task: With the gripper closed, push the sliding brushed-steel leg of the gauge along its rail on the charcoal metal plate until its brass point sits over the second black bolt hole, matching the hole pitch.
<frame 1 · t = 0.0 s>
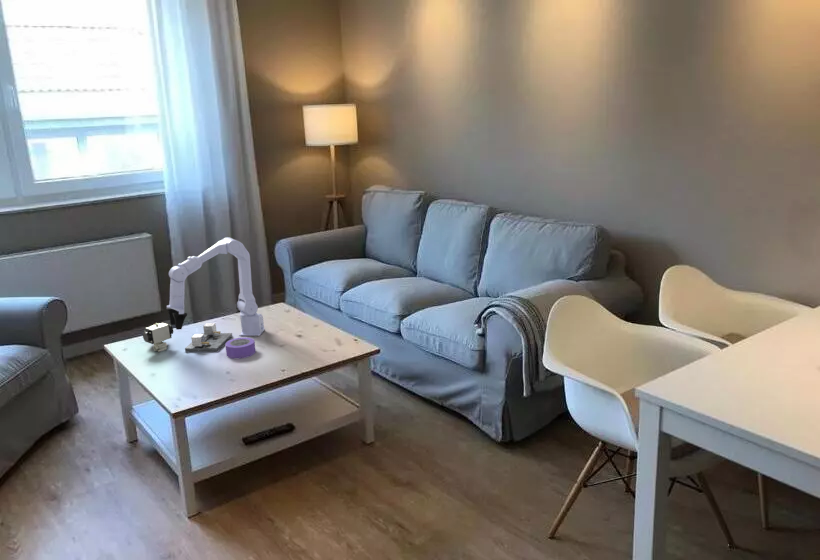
hand: (176, 326, 291), 11 cm above the table, tool pointing down, fingers open, 7 cm apart
decorative fruit: (158, 344, 302), on the table
sliding leg: (212, 329, 305), point 4 cm above the table, slide at 5.0 cm
pneumatic valve: (160, 350, 295), on the table
tape roll: (241, 353, 287), on the table
bolt plate: (209, 343, 300), on the table
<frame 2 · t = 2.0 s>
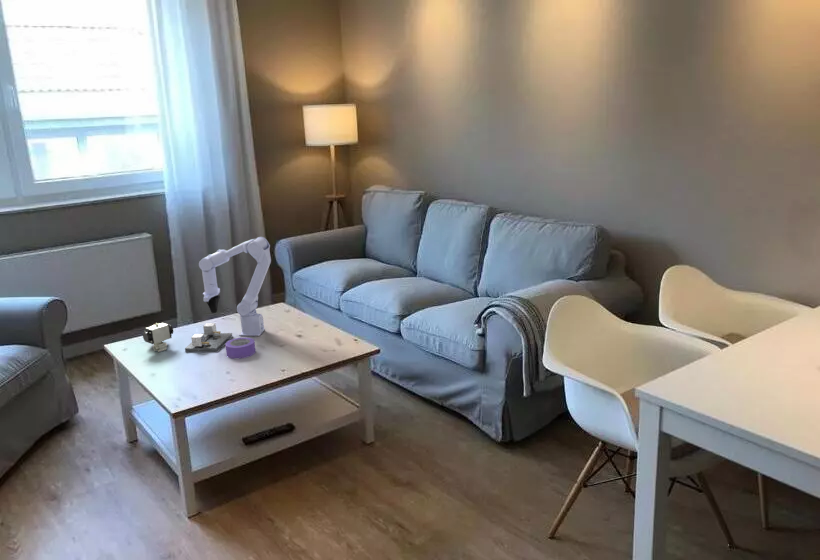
hand: (214, 312, 311), 10 cm above the table, tool pointing down, fingers closed
nothing on the table moved.
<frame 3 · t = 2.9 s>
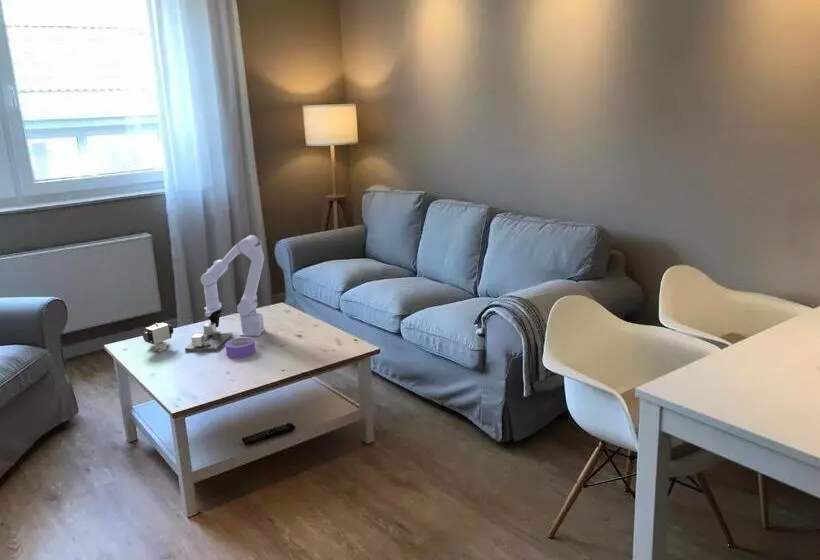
hand: (215, 326, 312), 3 cm above the table, tool pointing down, fingers closed
nothing on the table moved.
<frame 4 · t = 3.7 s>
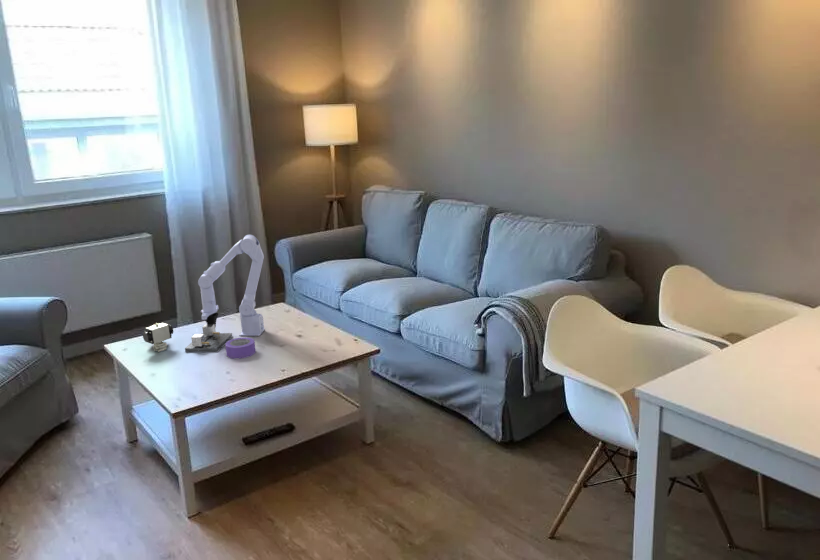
hand: (212, 329, 308), 3 cm above the table, tool pointing down, fingers closed
sliding leg: (211, 330, 304), point 4 cm above the table, slide at 4.0 cm, touching gripper
everything else where it was.
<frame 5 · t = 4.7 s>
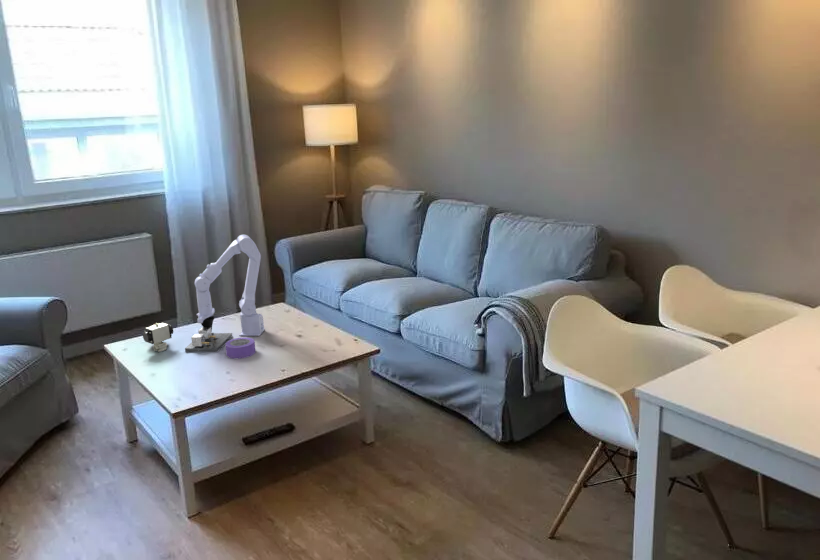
hand: (208, 333, 304), 3 cm above the table, tool pointing down, fingers closed
sliding leg: (207, 333, 300), point 4 cm above the table, slide at -0.5 cm, touching gripper
everything else where it was.
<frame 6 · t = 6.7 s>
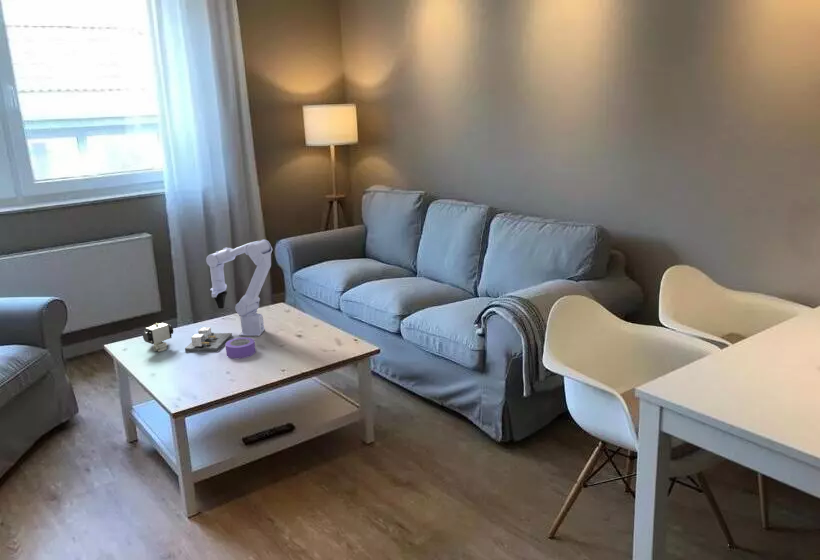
hand: (221, 308, 314), 10 cm above the table, tool pointing down, fingers closed
sliding leg: (207, 333, 300), point 4 cm above the table, slide at -0.6 cm
everything else where it was.
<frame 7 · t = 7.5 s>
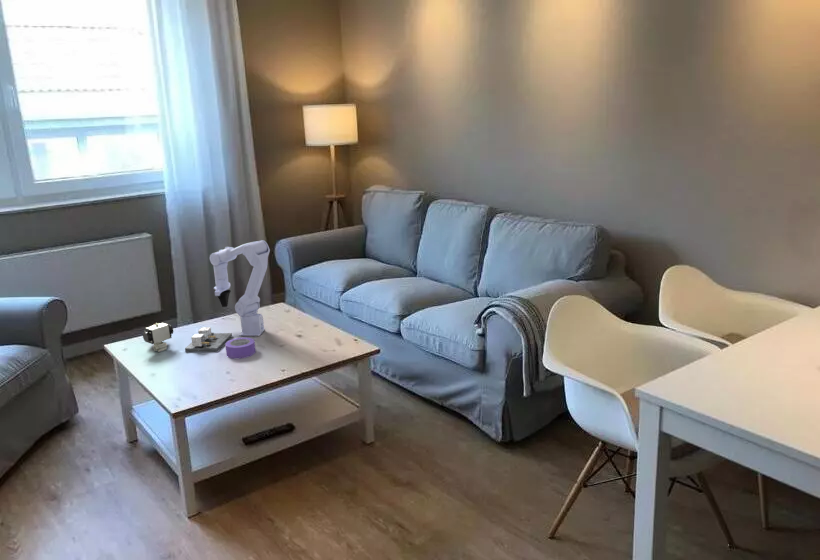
hand: (224, 306, 316), 10 cm above the table, tool pointing down, fingers closed
nothing on the table moved.
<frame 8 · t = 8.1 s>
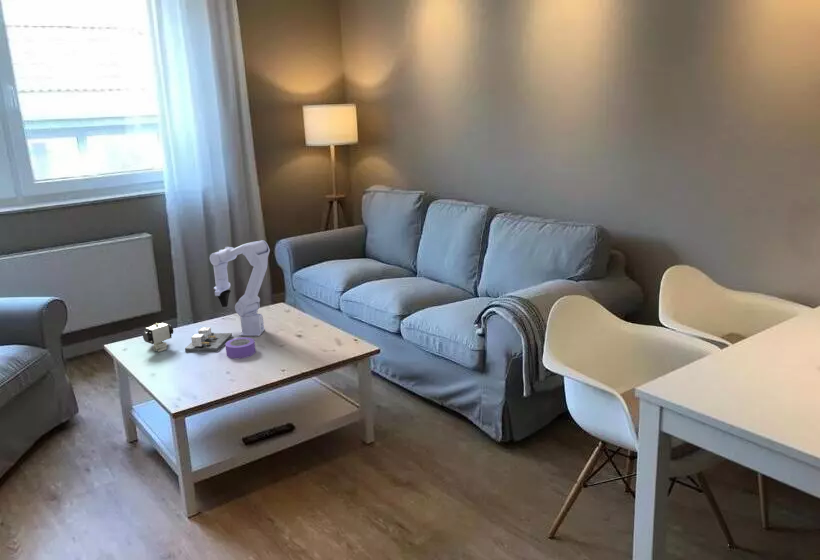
hand: (224, 306, 316), 10 cm above the table, tool pointing down, fingers closed
nothing on the table moved.
at the end: sliding leg slide at -0.6 cm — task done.
